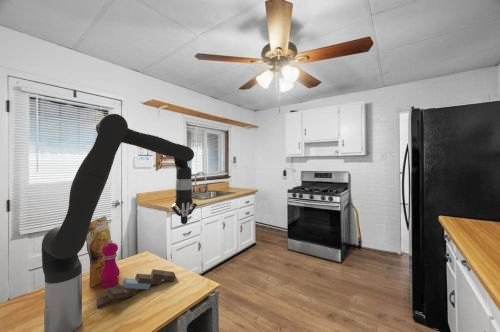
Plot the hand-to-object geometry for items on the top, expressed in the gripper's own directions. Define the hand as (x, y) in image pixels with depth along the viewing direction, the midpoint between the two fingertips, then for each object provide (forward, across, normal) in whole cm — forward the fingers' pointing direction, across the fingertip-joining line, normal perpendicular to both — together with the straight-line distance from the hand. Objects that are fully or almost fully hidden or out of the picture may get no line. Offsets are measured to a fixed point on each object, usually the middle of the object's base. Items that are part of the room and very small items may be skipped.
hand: (184, 223), depth 105 cm
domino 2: (+24, +22, +1) cm, 33 cm away
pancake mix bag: (+25, +32, -22) cm, 46 cm away
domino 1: (+25, +25, +1) cm, 35 cm away
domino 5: (+24, +5, 0) cm, 25 cm away
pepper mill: (+25, +29, -13) cm, 41 cm away
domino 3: (+24, +16, 0) cm, 29 cm away
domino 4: (+24, +11, -1) cm, 27 cm away
